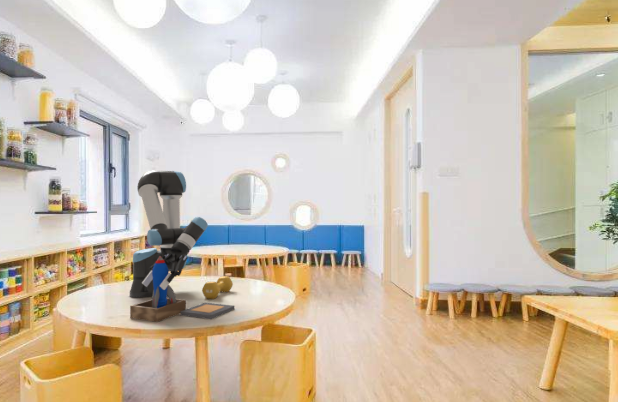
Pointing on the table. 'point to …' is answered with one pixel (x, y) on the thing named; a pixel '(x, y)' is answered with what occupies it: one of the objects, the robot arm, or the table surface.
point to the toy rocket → (158, 293)
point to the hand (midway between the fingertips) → (152, 286)
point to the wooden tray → (156, 310)
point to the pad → (207, 310)
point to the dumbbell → (217, 287)
